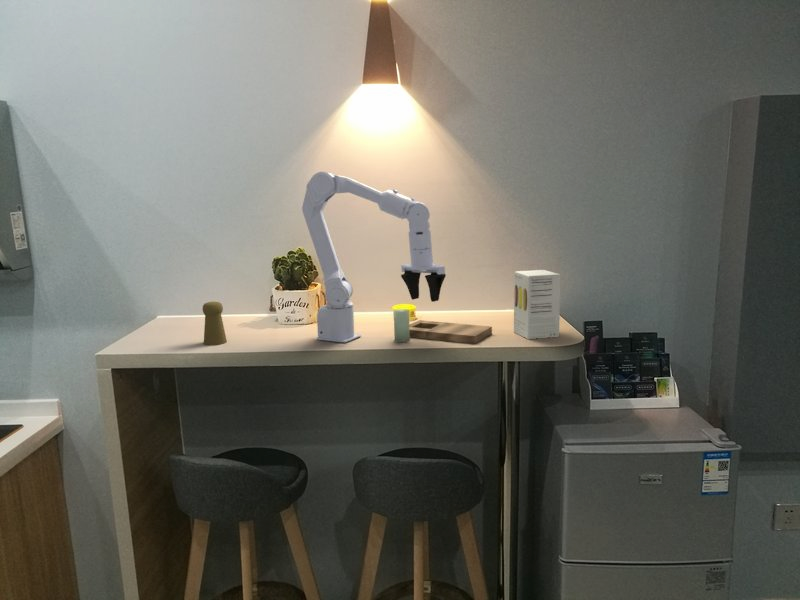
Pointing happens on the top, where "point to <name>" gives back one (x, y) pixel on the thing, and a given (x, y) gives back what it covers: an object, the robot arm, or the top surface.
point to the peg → (401, 325)
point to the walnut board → (449, 331)
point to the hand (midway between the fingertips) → (424, 299)
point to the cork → (213, 324)
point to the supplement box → (536, 303)
